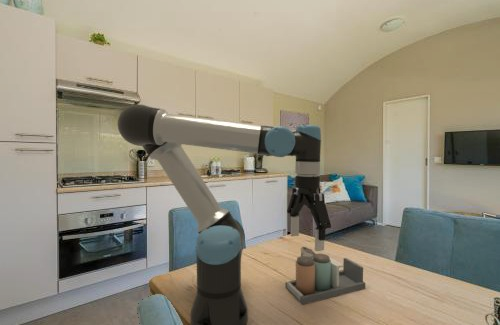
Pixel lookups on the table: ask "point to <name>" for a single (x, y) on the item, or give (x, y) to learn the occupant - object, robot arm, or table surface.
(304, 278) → the jar terracotta
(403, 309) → the table surface
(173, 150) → the robot arm
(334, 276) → the pusher
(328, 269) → the jar teal
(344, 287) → the lane
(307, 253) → the mineral rock
